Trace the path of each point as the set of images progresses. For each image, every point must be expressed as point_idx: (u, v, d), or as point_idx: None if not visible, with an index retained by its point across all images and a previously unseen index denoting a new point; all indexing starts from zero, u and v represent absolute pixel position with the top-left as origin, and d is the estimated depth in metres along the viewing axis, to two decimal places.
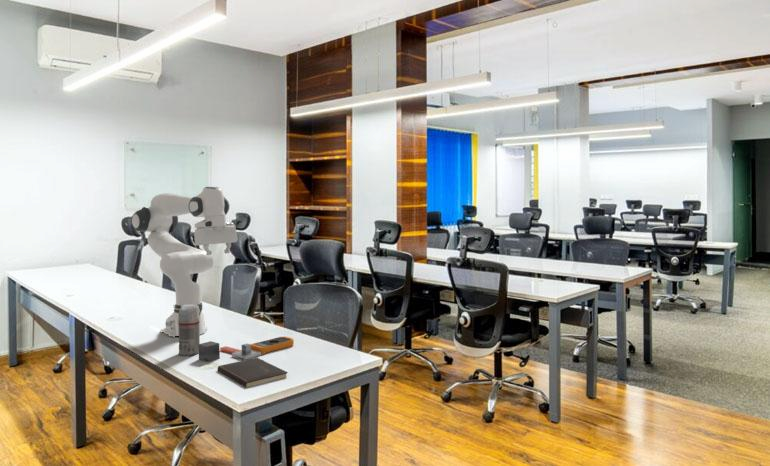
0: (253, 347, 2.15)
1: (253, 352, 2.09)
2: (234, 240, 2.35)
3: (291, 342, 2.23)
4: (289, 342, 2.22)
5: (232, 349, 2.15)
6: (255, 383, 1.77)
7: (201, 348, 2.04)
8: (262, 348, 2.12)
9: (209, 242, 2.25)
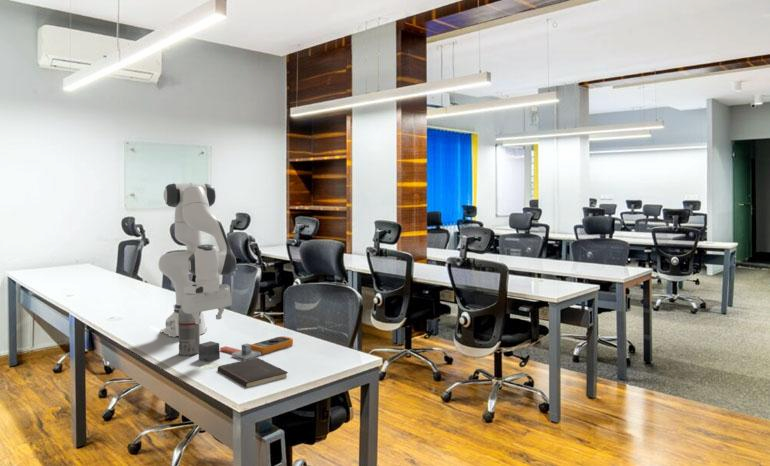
0: (254, 347, 2.14)
1: (253, 352, 2.09)
2: (227, 304, 2.10)
3: (291, 342, 2.24)
4: (289, 342, 2.23)
5: (232, 349, 2.15)
6: (255, 383, 1.77)
7: (201, 348, 2.04)
8: (263, 348, 2.12)
9: (199, 310, 1.99)
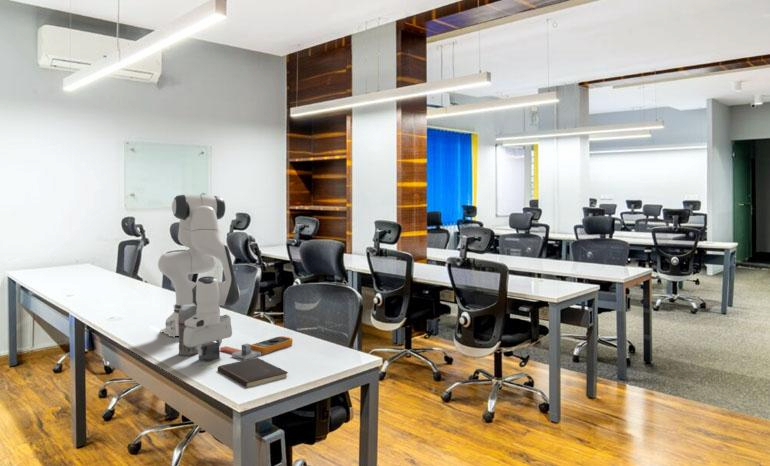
0: (254, 347, 2.14)
1: (253, 352, 2.09)
2: (228, 335, 2.11)
3: (290, 341, 2.24)
4: (289, 341, 2.23)
5: (232, 349, 2.15)
6: (255, 383, 1.77)
7: (201, 348, 2.04)
8: (264, 348, 2.12)
9: (200, 343, 2.00)
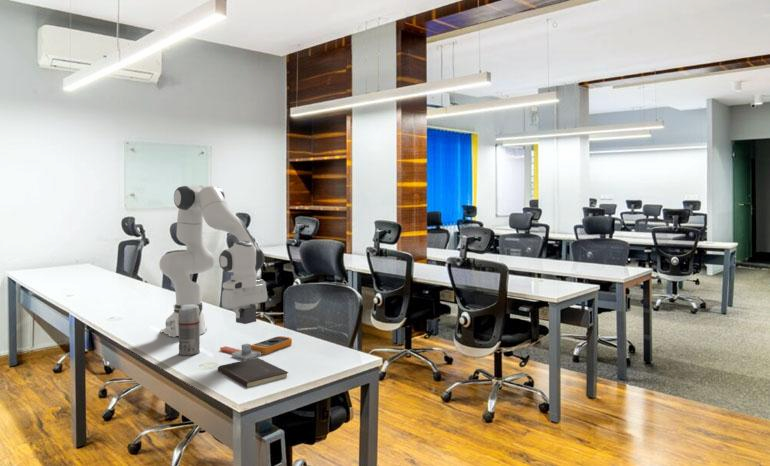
0: (255, 348, 2.14)
1: (253, 352, 2.09)
2: (264, 300, 2.13)
3: (290, 341, 2.24)
4: (288, 341, 2.23)
5: (232, 349, 2.15)
6: (256, 383, 1.77)
7: None
8: (266, 348, 2.12)
9: (237, 305, 2.03)
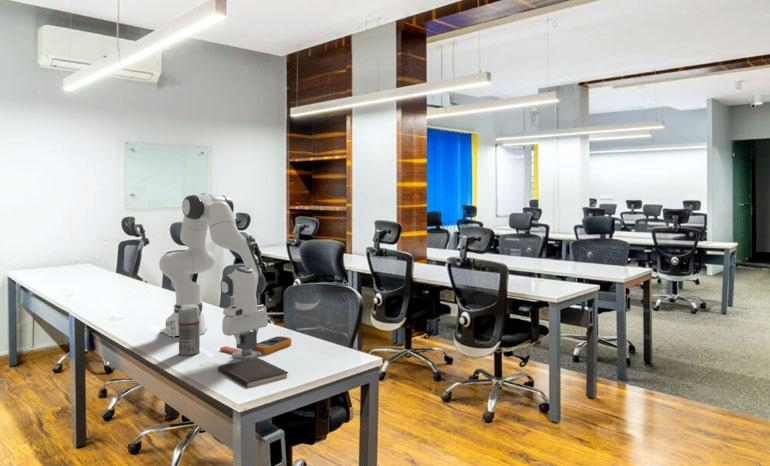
0: (255, 348, 2.13)
1: (253, 352, 2.09)
2: (264, 325, 2.14)
3: (290, 341, 2.25)
4: (288, 341, 2.24)
5: (232, 349, 2.15)
6: (256, 383, 1.77)
7: (239, 337, 2.07)
8: (266, 348, 2.12)
9: (238, 331, 2.04)
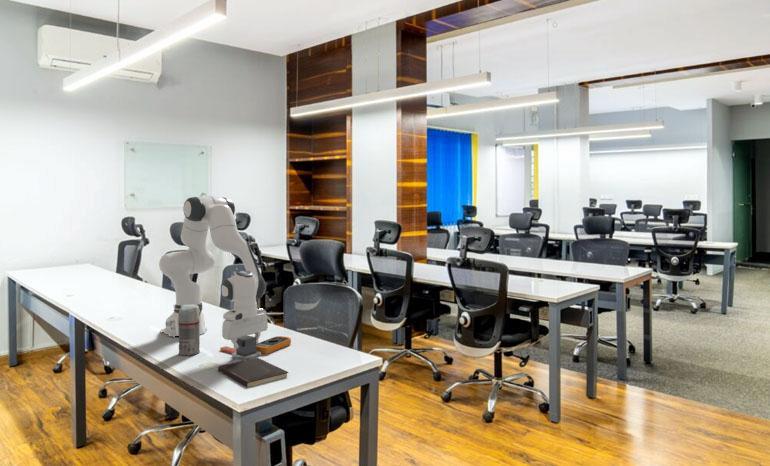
0: (256, 348, 2.13)
1: None
2: (264, 329, 2.14)
3: (289, 341, 2.25)
4: (288, 341, 2.24)
5: (232, 349, 2.15)
6: (256, 383, 1.77)
7: (239, 342, 2.07)
8: (267, 348, 2.12)
9: (238, 336, 2.04)
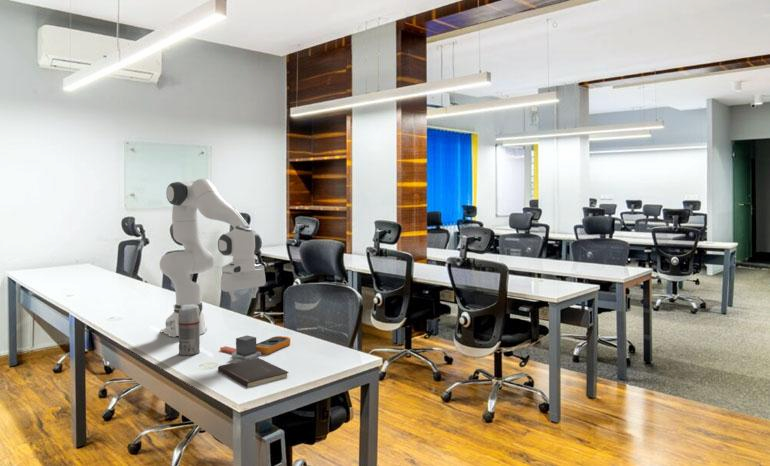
0: (256, 348, 2.13)
1: None
2: (262, 284, 2.18)
3: (289, 341, 2.25)
4: (287, 341, 2.24)
5: (232, 349, 2.15)
6: (256, 383, 1.77)
7: (239, 342, 2.07)
8: (268, 348, 2.12)
9: (236, 288, 2.07)
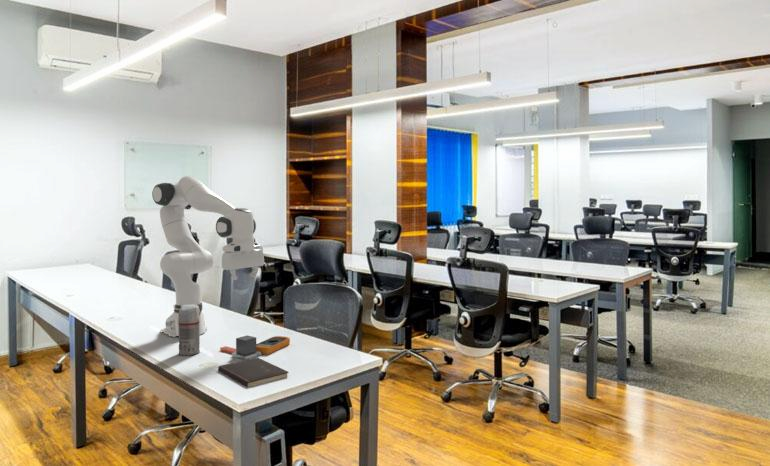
0: (257, 348, 2.13)
1: None
2: (261, 264, 2.28)
3: (288, 340, 2.26)
4: (287, 341, 2.24)
5: (232, 349, 2.15)
6: (256, 383, 1.77)
7: (239, 342, 2.07)
8: (269, 348, 2.12)
9: (236, 267, 2.18)
